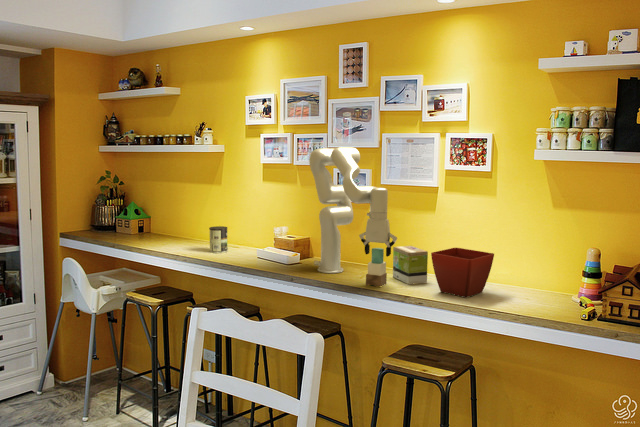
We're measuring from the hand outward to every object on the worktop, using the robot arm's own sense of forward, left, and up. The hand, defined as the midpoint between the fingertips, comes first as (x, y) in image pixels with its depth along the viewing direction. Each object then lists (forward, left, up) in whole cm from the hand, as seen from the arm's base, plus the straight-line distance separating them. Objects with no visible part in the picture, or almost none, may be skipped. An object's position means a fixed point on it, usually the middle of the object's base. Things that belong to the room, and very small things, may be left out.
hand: (377, 254), depth 242 cm
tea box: (+10, +15, -13) cm, 23 cm away
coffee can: (-109, +30, -13) cm, 114 cm away
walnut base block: (0, 0, -13) cm, 13 cm away
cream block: (0, 0, -8) cm, 8 cm away
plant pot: (+36, +4, -13) cm, 39 cm away
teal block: (0, 0, -3) cm, 3 cm away
